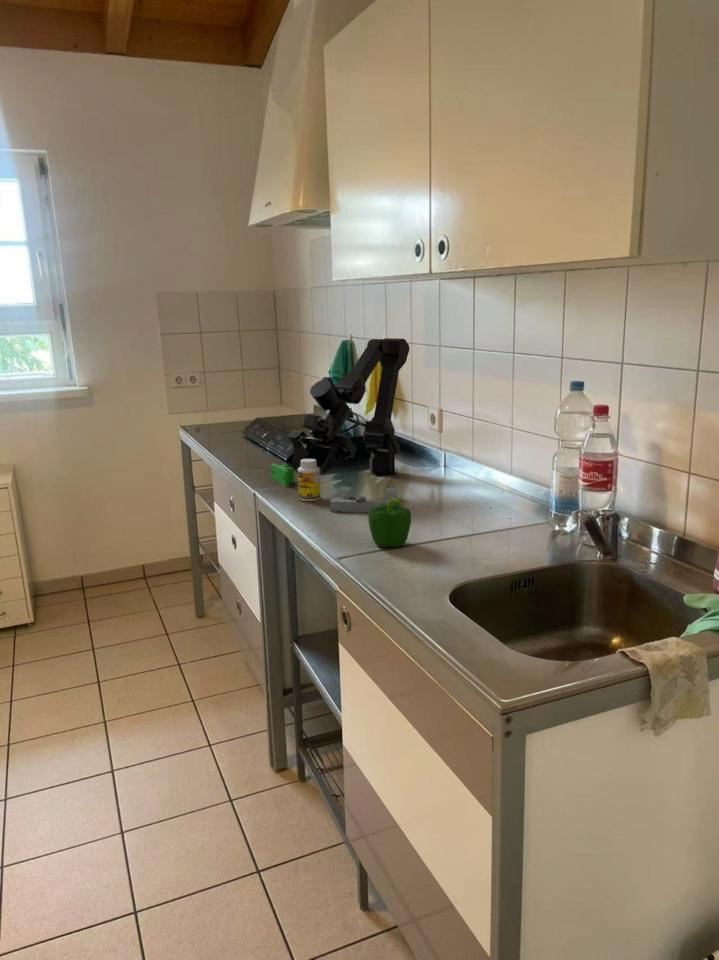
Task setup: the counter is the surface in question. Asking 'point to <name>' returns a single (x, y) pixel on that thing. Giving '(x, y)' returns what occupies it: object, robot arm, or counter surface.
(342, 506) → the housing cradle
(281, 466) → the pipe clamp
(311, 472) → the supplement bottle
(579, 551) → the counter surface
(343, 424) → the robot arm
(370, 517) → the bell pepper
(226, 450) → the counter surface
